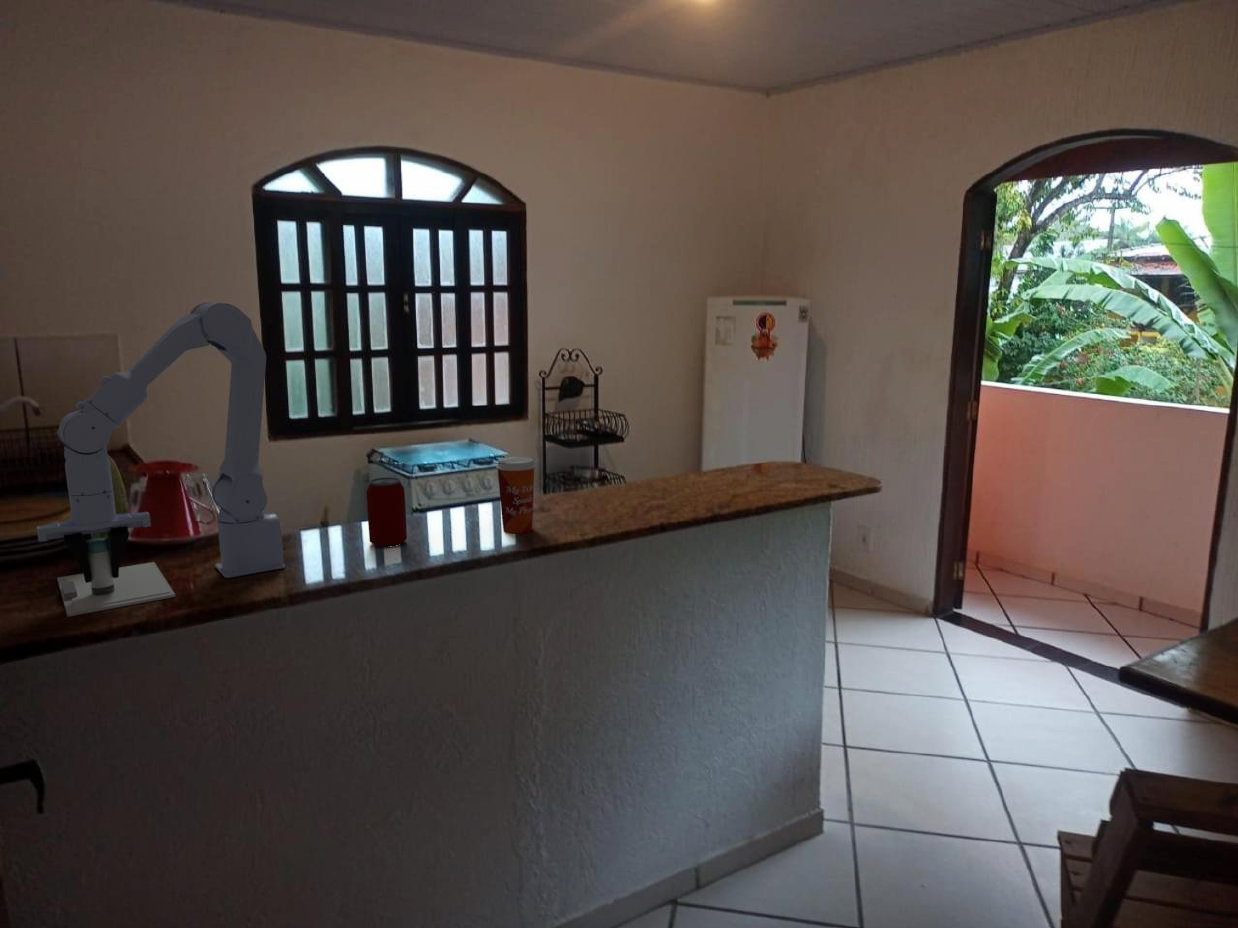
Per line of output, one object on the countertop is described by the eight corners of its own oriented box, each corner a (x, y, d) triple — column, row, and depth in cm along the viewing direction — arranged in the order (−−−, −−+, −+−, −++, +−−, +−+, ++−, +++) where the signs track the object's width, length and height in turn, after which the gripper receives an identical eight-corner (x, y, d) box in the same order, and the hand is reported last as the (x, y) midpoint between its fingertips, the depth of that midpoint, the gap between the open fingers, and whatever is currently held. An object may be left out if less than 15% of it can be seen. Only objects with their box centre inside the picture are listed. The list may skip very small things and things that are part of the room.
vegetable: (128, 549, 155) (115, 440, 151) (138, 556, 151) (125, 445, 147) (90, 556, 151) (75, 444, 147) (99, 564, 147) (85, 449, 143)
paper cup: (509, 537, 163) (507, 465, 160) (490, 528, 169) (488, 459, 166) (545, 530, 167) (543, 460, 164) (525, 522, 173) (523, 454, 171)
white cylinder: (114, 586, 133) (108, 536, 132) (114, 592, 131) (108, 541, 129) (92, 589, 132) (85, 539, 130) (91, 595, 129) (85, 544, 128)
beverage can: (410, 538, 162) (407, 476, 160) (403, 548, 156) (399, 484, 153) (374, 538, 162) (371, 476, 160) (365, 549, 155) (361, 484, 153)
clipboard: (154, 564, 147) (153, 556, 147) (175, 596, 131) (174, 587, 131) (57, 580, 139) (56, 571, 138) (67, 616, 123) (66, 607, 123)
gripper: (141, 480, 136) (150, 563, 138) (31, 493, 127) (43, 580, 130) (148, 488, 130) (158, 574, 133) (33, 502, 122) (46, 593, 124)
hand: (101, 578), depth 131 cm, fingers closed on white cylinder, 3 cm apart
